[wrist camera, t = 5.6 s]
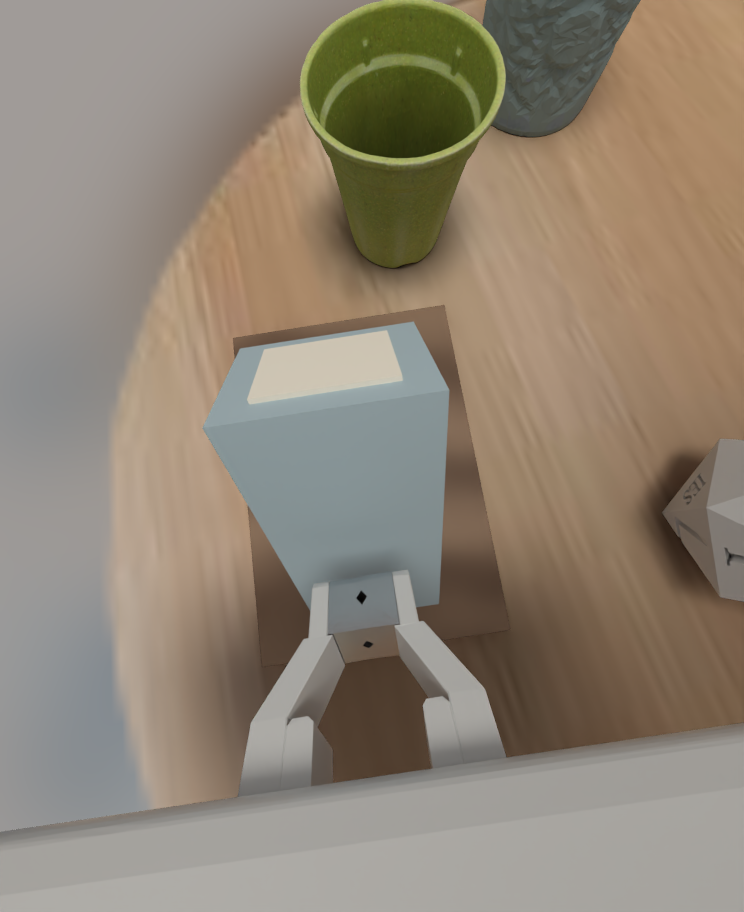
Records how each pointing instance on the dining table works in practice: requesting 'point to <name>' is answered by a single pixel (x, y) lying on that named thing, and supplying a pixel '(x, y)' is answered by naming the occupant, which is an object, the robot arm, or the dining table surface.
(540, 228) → the dining table surface
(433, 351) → the board
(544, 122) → the blue-grey cup
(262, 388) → the light blue box
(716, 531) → the die
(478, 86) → the plant pot
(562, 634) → the dining table surface
